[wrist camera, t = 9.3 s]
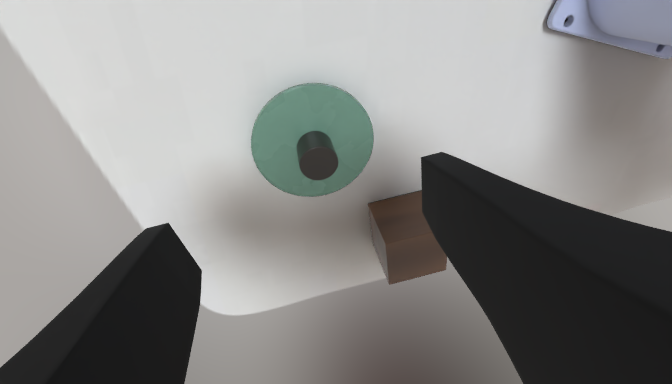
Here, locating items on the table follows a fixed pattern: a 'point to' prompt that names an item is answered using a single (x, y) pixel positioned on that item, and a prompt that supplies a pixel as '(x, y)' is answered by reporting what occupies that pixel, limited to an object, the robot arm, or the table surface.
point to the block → (404, 238)
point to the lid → (312, 139)
